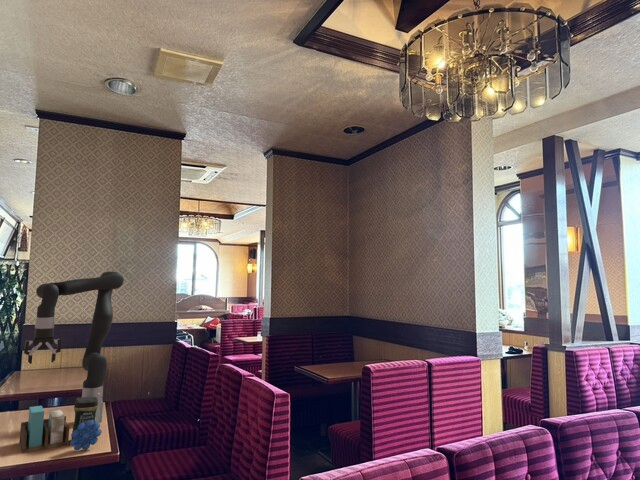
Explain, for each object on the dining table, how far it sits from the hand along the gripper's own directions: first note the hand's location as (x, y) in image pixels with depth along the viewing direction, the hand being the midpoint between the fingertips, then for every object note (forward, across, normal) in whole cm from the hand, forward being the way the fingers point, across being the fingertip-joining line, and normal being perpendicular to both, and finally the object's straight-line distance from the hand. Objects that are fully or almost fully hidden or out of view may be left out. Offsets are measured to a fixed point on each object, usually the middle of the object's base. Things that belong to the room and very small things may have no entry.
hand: (41, 362), depth 205 cm
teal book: (+31, -2, -14) cm, 34 cm away
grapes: (+32, +15, -30) cm, 47 cm away
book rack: (+32, +2, -14) cm, 35 cm away
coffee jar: (+32, +16, -18) cm, 41 cm away
